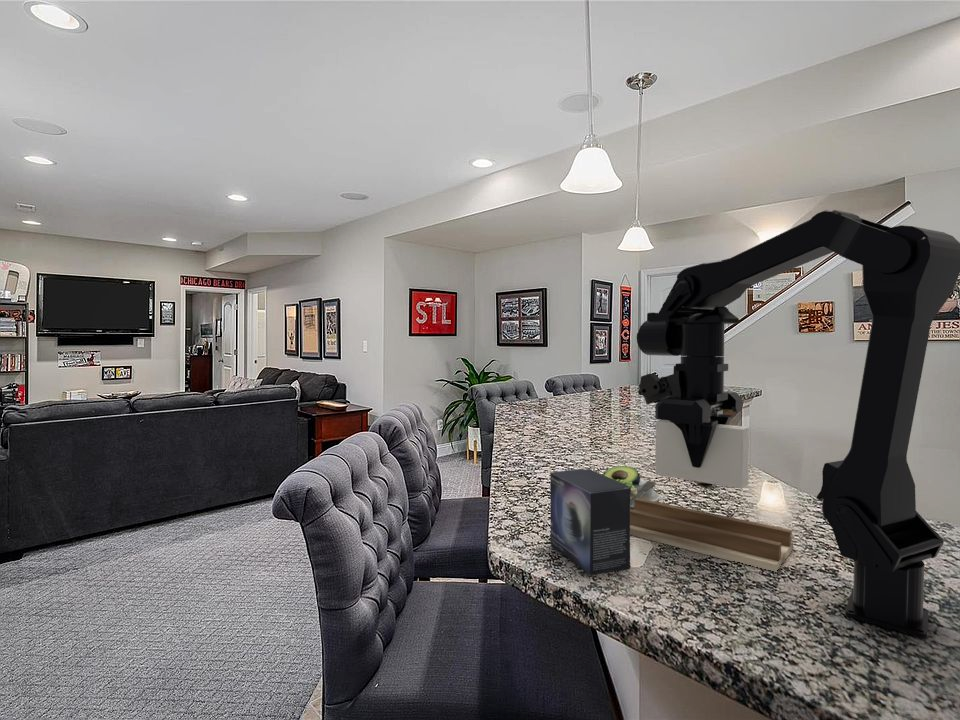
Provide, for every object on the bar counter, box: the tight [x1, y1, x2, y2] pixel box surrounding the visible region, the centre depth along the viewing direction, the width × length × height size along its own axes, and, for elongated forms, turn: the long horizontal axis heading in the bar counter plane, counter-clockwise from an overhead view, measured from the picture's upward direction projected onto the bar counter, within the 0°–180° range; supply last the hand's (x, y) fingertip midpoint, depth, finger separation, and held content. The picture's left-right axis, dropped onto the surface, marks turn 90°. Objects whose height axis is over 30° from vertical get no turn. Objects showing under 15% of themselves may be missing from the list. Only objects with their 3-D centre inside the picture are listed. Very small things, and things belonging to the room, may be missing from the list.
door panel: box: [654, 419, 750, 490], centre depth 75 cm, size 3×12×8 cm, turn 49°
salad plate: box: [603, 465, 661, 510], centre depth 96 cm, size 19×18×5 cm
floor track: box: [630, 498, 794, 573], centre depth 75 cm, size 10×22×3 cm, turn 49°
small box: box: [549, 467, 631, 576], centre depth 69 cm, size 11×6×10 cm, turn 21°
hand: (700, 465), depth 75 cm, fingers closed on door panel, 3 cm apart
